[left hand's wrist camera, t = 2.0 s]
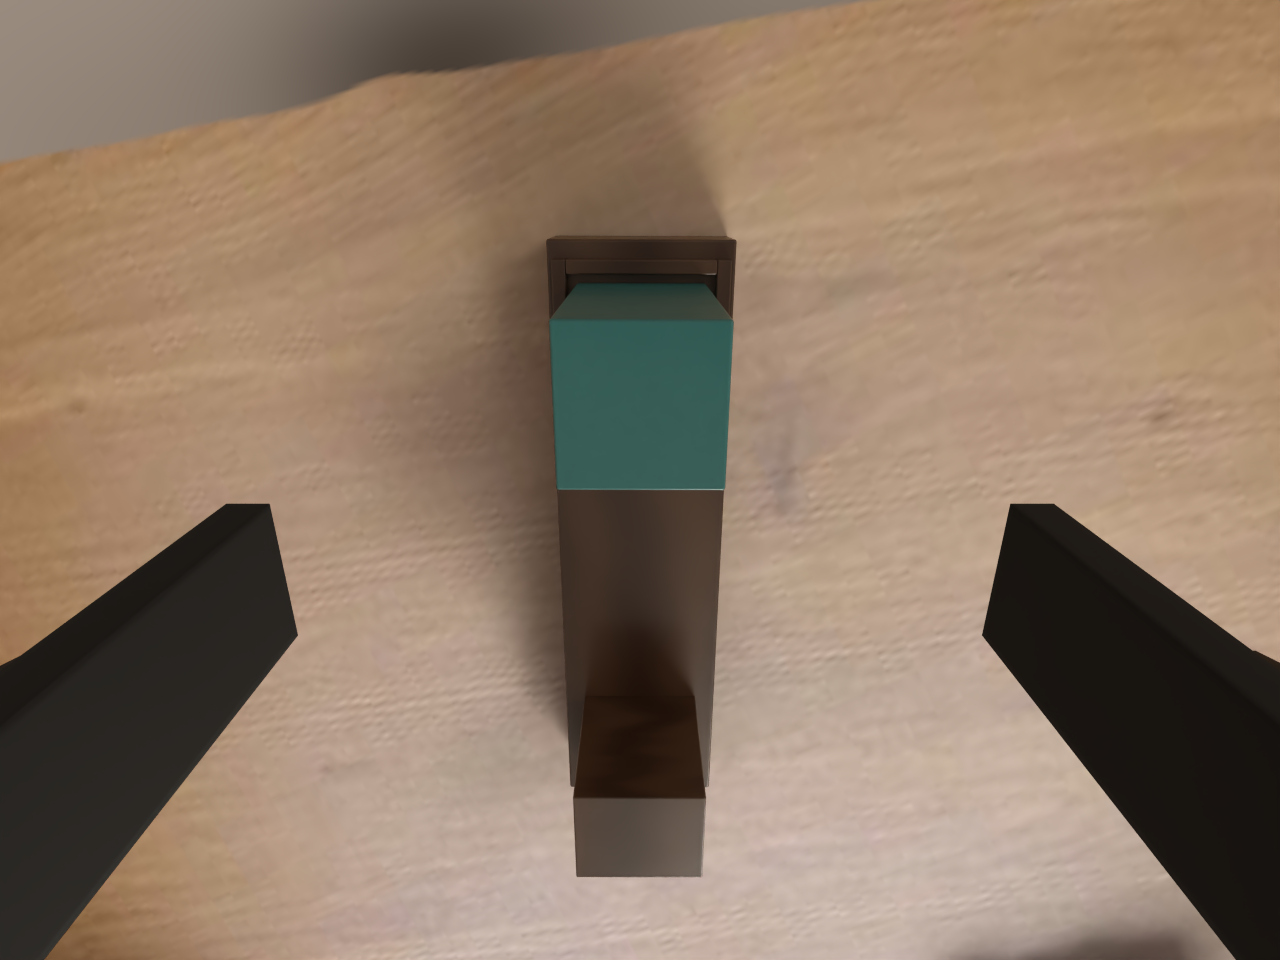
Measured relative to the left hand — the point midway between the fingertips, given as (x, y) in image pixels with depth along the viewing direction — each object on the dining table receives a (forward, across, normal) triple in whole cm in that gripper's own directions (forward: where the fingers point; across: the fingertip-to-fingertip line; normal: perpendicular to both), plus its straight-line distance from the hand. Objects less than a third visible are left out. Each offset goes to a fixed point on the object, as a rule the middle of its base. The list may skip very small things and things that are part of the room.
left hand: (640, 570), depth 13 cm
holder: (+23, 0, +10) cm, 25 cm away
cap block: (+20, 0, 0) cm, 20 cm away
